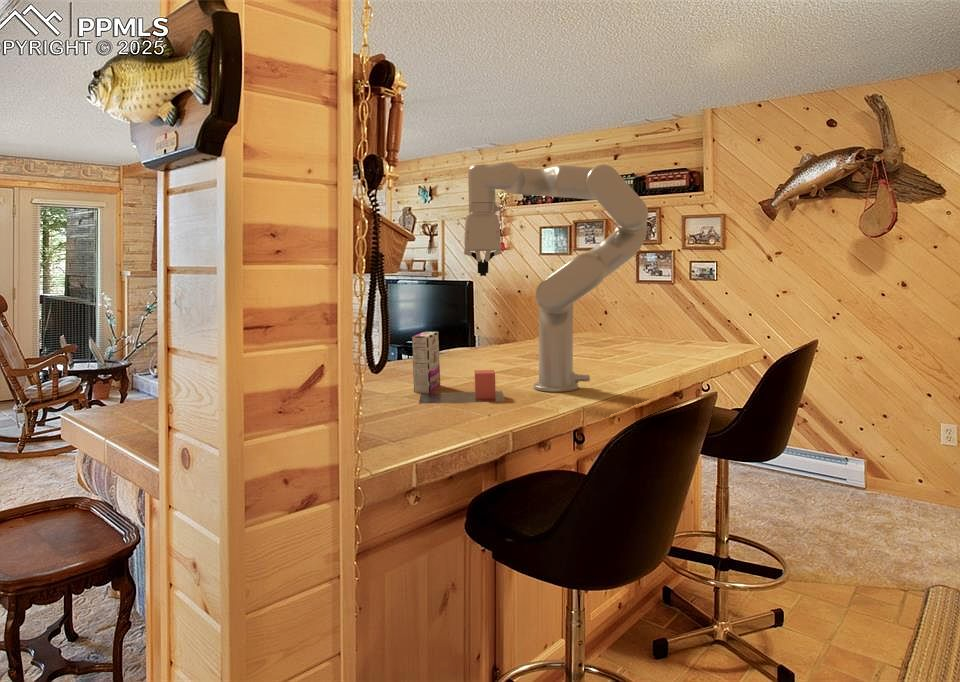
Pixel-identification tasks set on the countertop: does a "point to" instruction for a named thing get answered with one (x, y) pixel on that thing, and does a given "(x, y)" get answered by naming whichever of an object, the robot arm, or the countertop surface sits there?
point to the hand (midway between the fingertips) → (483, 275)
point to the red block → (484, 384)
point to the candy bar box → (426, 362)
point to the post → (457, 397)
